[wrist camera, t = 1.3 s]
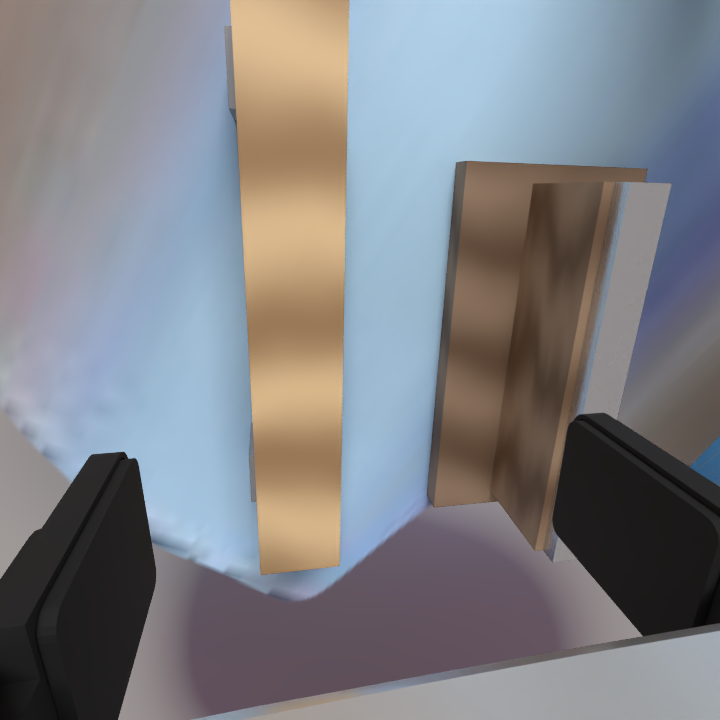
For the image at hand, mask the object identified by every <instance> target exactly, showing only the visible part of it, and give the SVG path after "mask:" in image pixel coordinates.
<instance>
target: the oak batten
mask: <svg viewBox="0 0 720 720" xmlns="http://www.w3.org/2000/svg"><path fill="white" fill-rule="evenodd" d="M230 5H231V24H232V42H233V61H234V80H235V99H236V118H237V137H238V156H239V174H240V193H241V212H242V231H243V250H244V269H245V288H246V306H247V325H248V344H249V363H250V382H251V401H252V420H253V438H254V457H255V476H256V495H257V514H258V533H259V552H260V570H261V575H265V574H274V573H283V572H291V571H300V570H309V569H318V568H327V567H335V566H340V511H341V452H342V394H343V335H344V277H345V218H346V160H347V101H348V43H349V0H230Z"/></svg>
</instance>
